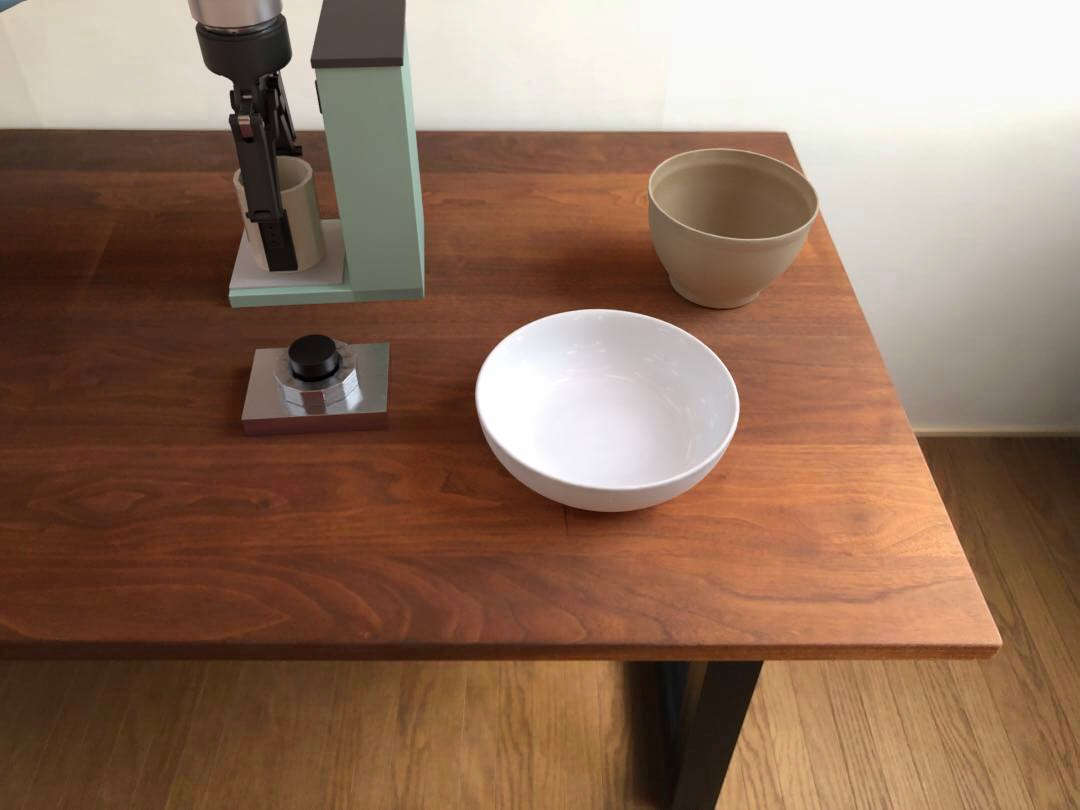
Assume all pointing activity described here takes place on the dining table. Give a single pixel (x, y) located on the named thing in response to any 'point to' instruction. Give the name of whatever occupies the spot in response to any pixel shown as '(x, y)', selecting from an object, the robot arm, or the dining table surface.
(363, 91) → the coffee maker
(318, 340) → the button
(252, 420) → the button block
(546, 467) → the serving bowl
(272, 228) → the robot arm
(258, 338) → the dining table surface
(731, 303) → the planter bowl
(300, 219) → the cup
